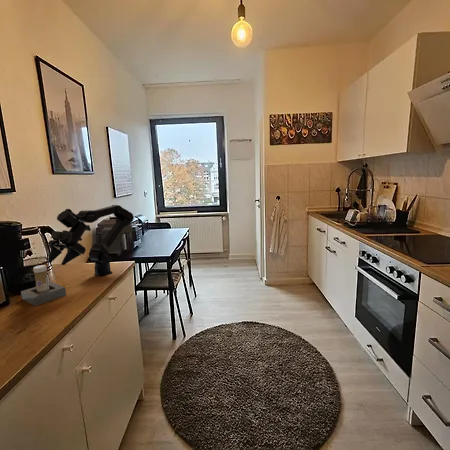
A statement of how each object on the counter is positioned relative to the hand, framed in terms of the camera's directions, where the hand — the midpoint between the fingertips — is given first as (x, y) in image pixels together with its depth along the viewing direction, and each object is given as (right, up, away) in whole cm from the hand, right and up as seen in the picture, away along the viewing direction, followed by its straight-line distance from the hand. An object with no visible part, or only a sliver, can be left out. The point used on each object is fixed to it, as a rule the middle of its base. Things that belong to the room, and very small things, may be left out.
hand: (55, 263), depth 123 cm
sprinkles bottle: (-2, -14, -3) cm, 15 cm away
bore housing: (-2, -14, -4) cm, 14 cm away
